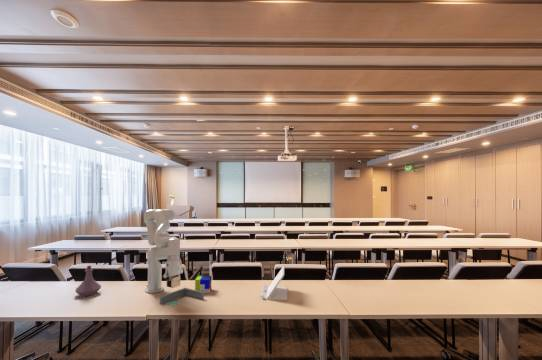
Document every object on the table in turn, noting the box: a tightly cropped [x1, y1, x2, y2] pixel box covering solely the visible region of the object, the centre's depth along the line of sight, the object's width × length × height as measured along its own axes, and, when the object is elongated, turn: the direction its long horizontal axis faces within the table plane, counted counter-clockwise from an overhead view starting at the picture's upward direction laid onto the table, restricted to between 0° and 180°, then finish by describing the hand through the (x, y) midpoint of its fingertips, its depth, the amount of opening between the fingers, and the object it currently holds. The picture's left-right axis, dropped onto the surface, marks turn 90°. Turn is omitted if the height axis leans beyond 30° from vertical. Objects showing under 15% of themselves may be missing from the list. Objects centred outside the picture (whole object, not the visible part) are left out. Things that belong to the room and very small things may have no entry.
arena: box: [159, 287, 205, 307], centre depth 188 cm, size 18×21×5 cm
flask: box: [75, 265, 102, 298], centre depth 203 cm, size 16×16×20 cm
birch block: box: [166, 275, 181, 289], centre depth 185 cm, size 6×6×6 cm
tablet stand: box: [260, 265, 288, 301], centre depth 205 cm, size 18×25×17 cm
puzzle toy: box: [194, 275, 212, 294], centre depth 209 cm, size 10×10×10 cm
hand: (173, 285), depth 185 cm, fingers closed on birch block, 6 cm apart
